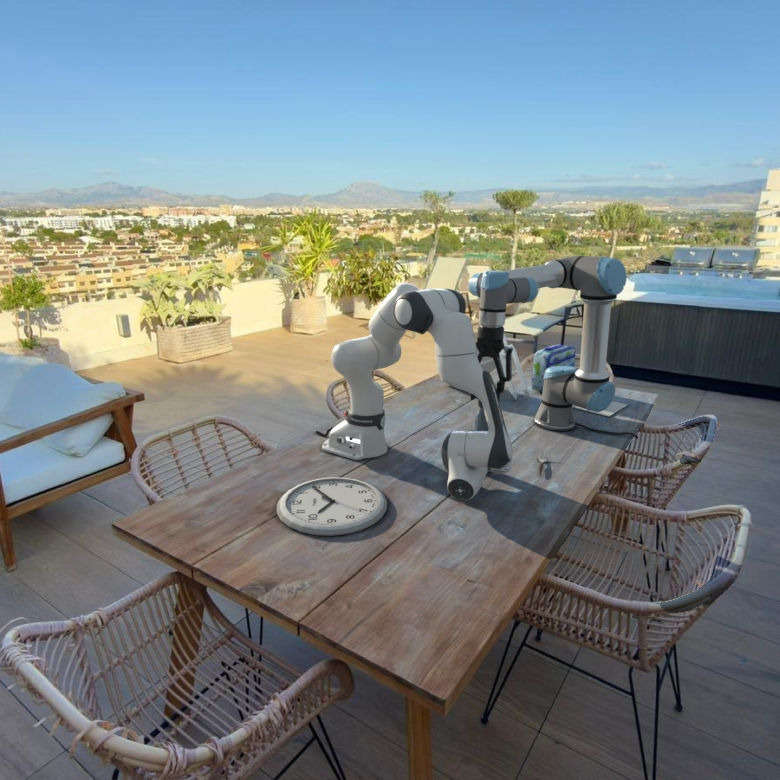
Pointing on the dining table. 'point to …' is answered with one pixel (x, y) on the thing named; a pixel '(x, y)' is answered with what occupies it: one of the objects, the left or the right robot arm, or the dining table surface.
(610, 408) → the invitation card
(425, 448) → the dining table surface
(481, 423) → the bottle
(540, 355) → the lunch box
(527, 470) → the dining table surface
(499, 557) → the dining table surface
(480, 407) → the cap
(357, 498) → the wall clock
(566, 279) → the right robot arm
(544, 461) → the fork
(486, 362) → the white plastic object
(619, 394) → the dining table surface
